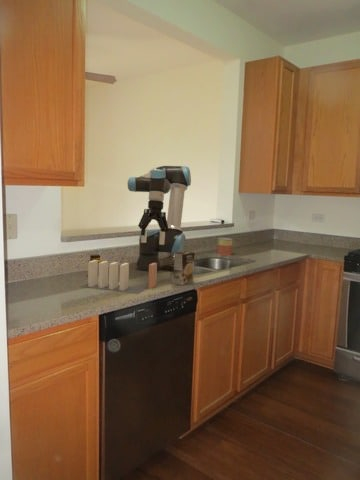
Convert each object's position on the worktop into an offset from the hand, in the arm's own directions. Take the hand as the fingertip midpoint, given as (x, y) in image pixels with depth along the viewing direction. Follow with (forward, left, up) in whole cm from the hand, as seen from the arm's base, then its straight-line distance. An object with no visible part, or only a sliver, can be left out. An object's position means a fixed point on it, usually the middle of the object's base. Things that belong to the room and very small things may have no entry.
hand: (152, 243), depth 196 cm
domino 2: (+14, -19, -21) cm, 32 cm away
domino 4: (+14, -8, -21) cm, 26 cm away
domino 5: (+4, +2, -21) cm, 22 cm away
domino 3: (+14, -14, -21) cm, 29 cm away
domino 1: (+14, -25, -21) cm, 35 cm away
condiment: (-4, -35, -21) cm, 41 cm away
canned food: (-112, +15, -21) cm, 115 cm away
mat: (+14, -14, -21) cm, 29 cm away
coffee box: (-12, +13, -21) cm, 28 cm away
